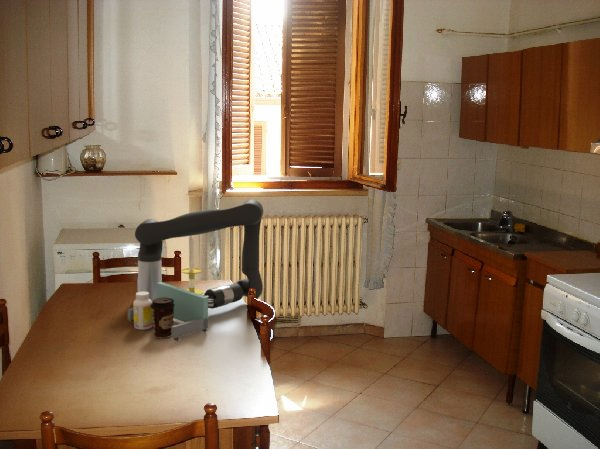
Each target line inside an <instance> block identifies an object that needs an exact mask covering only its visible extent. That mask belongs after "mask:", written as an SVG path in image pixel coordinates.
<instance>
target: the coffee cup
mask: <svg viewBox="0 0 600 449" xmlns="http://www.w3.org/2000/svg"><path fill="white" fill-rule="evenodd" d="M173 302H174V300H173V299H172V298H168V297H162V298H156V299H154V300H153V303H152V304H151V305H150V307H151V309H152V317H153V326H152V327H153V336H154V338H157V339H166V338H170V337H171V326H174V318H173V317H174V306H175V304H174V303H173Z"/></svg>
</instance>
